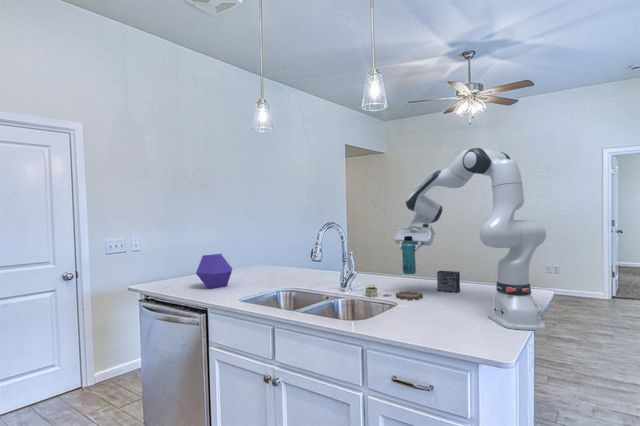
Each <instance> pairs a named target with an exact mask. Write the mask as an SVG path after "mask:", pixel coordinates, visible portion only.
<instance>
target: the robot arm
mask: <svg viewBox="0 0 640 426" xmlns="http://www.w3.org/2000/svg"><path fill="white" fill-rule="evenodd" d="M476 174H477V175H483V176H488V177H489V178H490V179H491V190H492V201H493V203H492V205H493V206H492V210H491V214H490V216H489V218H487V219H488V220H486V221H485V222H484V223H483V224H482V225H481V227H480V229H479V238H480V241H481V243H482V244H483V245H484V246H485V247H489V248H495V249H508V252H507V254H506V255H505V256H503V257H502V258H501V259H500V260H498V263H497V281H496V291H497V292H496V293H495V294H494V295H493V296H492V308H491V309H492V313H488V315H487V317H488V318H489V319H491V320H492V321H494V322H495V323H498V324H499V325H500V326H502V327H504V328H507V329H513V330H522V331H541V330H546V325H545V323H544V322H543V320H542V319H541V317H540V316H539V315H541V314H542V308H541V307H538V306H537V302H536V301H535V300H534V298H533V296H532V288H531V287H532V286H531V284H530V280H529V279H530V264H531V260H532V257H533V255H534V253H535V251H536V250H537V249H538V247H540V246H541V245H542V244H543V243H544V242H545V240H546V237H547V231H546V228H545V226H544V225H543V224H542V223H541V222H540V221H537V220H536V221H535V220H531V219H514V218H515V217H514V216H515V213H516V211H517V210H519V209H521V208H522V207H523V206H524V203H525V197H524V187H523V179H522V176H521V171H520V168H519V166H518V163H517V161H515V160H513V159H511V157H510V156H509V154H507V153H505V152H503V151H498V150H493V149H489V148H481V147H480V148H479V147H475V148H470V149H464V150H463V151H462V152H461V153H459V154H458V155H457V156H456V157H455V158H454V160H452V162H451V163H450V165H449V166H448V167H446V168H444V169H442V170H436V171H435V172H433V173H432V174H431V175H429V177H428V178H427V179H425V181H424V182H422V184H421V185H419V186H418V187H417V188H416V189H414V190H413V192H411V193H410V194H409V195H407V197H406V200H405V205H406V208H407V209H408V210H410V211H412V212H414V217H413V219H412V220H411V222H410V223H409V227H408V228H402V229H399V230H398V231H397V233H396V234H395V235H394V237H393V240H394V242H395V243H396V244H397V245H399V250H400V251H402V245H403V244H404V243H413V244H414V245H415V246H414V248H413V250H414V251H415V252H418V251H419V249H420V248H422V246H428V247H429V246H431V245H432V244H433V242H434V239H435V235H436V233H435V230H434V229H433V227H432V225H431V224H433V223H436V222H438V220H439V219H440V217H441V215H442V214H443V212H444V211H443V207H442V205H441V204H440V203H439V202H437V201H436V200H433V199H432V198H429V197H428V196H426V195H425V194H426V193H427V192H428V191H429V190H430V189H432V188H433V187H445V188H449V189H460V188H462V187H464V186H465V185H466V184H467V183H468V182H469V181H470V180H471V179H472V177H473V176H474V175H476ZM405 236H412V239H413V240H412V241H404V237H405Z"/></svg>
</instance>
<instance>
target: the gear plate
mask: <svg viewBox="0 0 640 426" xmlns="http://www.w3.org/2000/svg"><path fill="white" fill-rule="evenodd" d="M396 297H397V299H400V300H401V299H403V300H402V301H404V299H408V300H407V301H419V300H423V298H424V295H423V293H419V292H418V291H417V292H416V291H399V292H396V293H395V298H396ZM419 298H421V299H419ZM413 299H415V300H413Z"/></svg>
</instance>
